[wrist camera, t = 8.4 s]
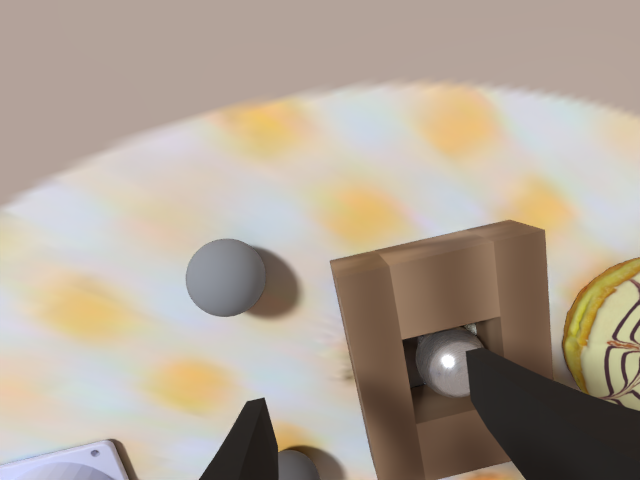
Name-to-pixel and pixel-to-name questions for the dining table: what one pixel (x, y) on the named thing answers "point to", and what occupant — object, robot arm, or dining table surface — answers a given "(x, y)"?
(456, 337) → the steel ball
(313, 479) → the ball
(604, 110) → the dining table surface
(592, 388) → the decorated donut
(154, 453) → the dining table surface
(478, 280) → the hole plate
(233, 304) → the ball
